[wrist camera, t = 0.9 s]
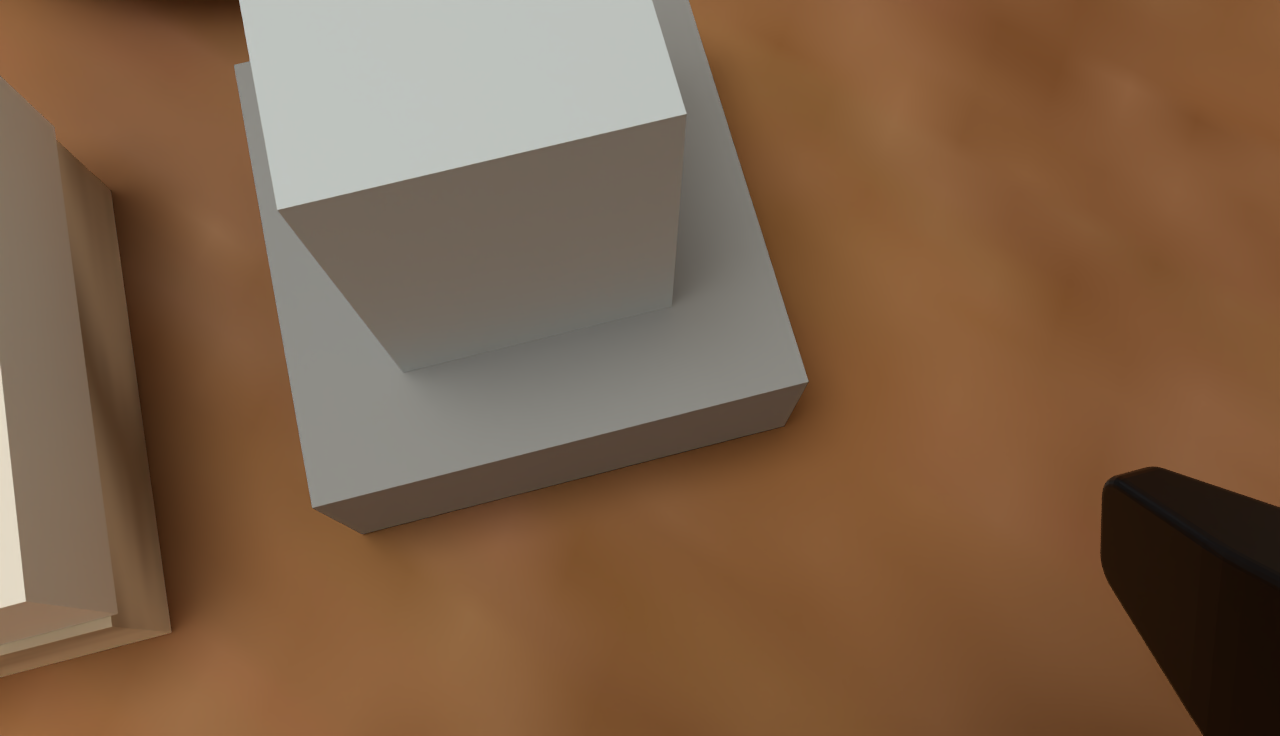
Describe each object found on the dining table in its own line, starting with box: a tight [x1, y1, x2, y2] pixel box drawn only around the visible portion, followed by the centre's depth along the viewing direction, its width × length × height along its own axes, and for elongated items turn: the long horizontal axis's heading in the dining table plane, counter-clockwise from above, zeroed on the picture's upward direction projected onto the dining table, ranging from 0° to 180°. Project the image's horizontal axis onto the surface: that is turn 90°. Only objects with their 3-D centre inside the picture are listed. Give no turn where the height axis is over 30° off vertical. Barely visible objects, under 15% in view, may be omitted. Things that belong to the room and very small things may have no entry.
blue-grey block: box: [239, 0, 687, 373], centre depth 17 cm, size 5×5×7 cm
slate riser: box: [234, 0, 809, 534], centre depth 22 cm, size 9×9×4 cm
